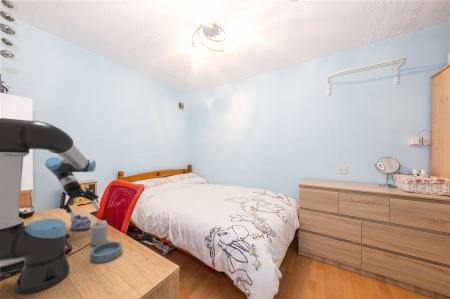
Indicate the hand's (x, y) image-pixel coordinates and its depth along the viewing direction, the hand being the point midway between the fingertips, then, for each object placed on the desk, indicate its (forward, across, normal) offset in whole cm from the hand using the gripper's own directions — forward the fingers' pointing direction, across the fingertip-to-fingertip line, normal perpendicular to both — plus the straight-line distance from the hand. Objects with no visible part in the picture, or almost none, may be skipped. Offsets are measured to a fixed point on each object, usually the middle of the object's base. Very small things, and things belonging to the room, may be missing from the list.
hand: (87, 212), depth 102 cm
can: (+19, 0, -4) cm, 19 cm away
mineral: (-1, -9, -25) cm, 26 cm away
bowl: (+29, +7, +7) cm, 31 cm away
